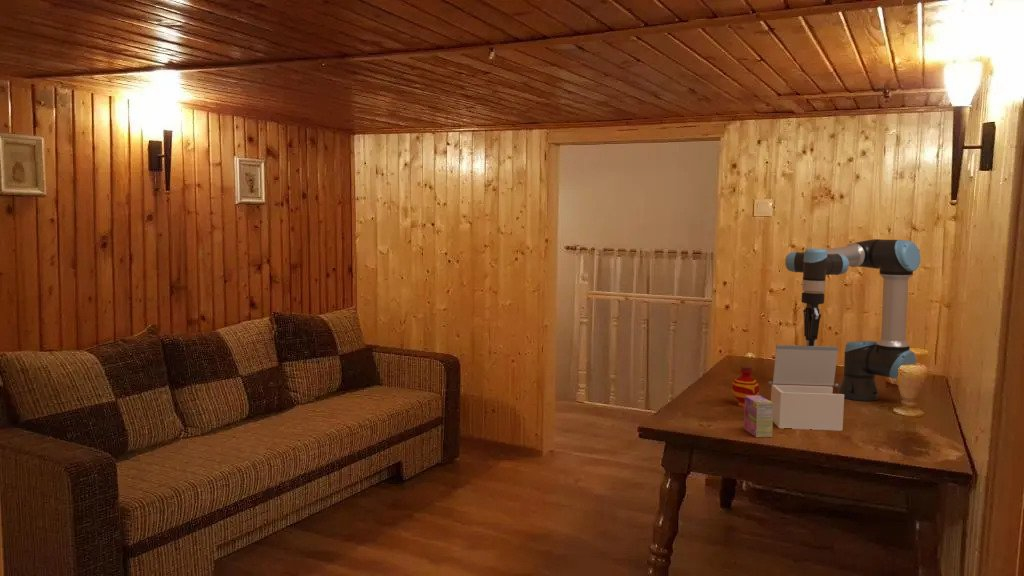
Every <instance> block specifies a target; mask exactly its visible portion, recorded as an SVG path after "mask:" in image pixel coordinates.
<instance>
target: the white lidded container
mask: <svg viewBox="0 0 1024 576" xmlns="http://www.w3.org/2000/svg"><path fill="white" fill-rule="evenodd" d="M767 385H770V386H771V393H770V401H771V402H773V424H775V425H776V427H777V428H779V429H784V428H792V430H810V429H812V431H813V430H814V431H815V430H816V431H817V430H818V431H840V432H841V431H842V432H843V428H844V427H843V425H844V408H845V407H844V406H845V398H844V394H838V393H833V391H834V388H839V387H840V384H839V383H834V386H829V385H800V384H773V380H771V381H769V380H768V381H767Z"/></svg>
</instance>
